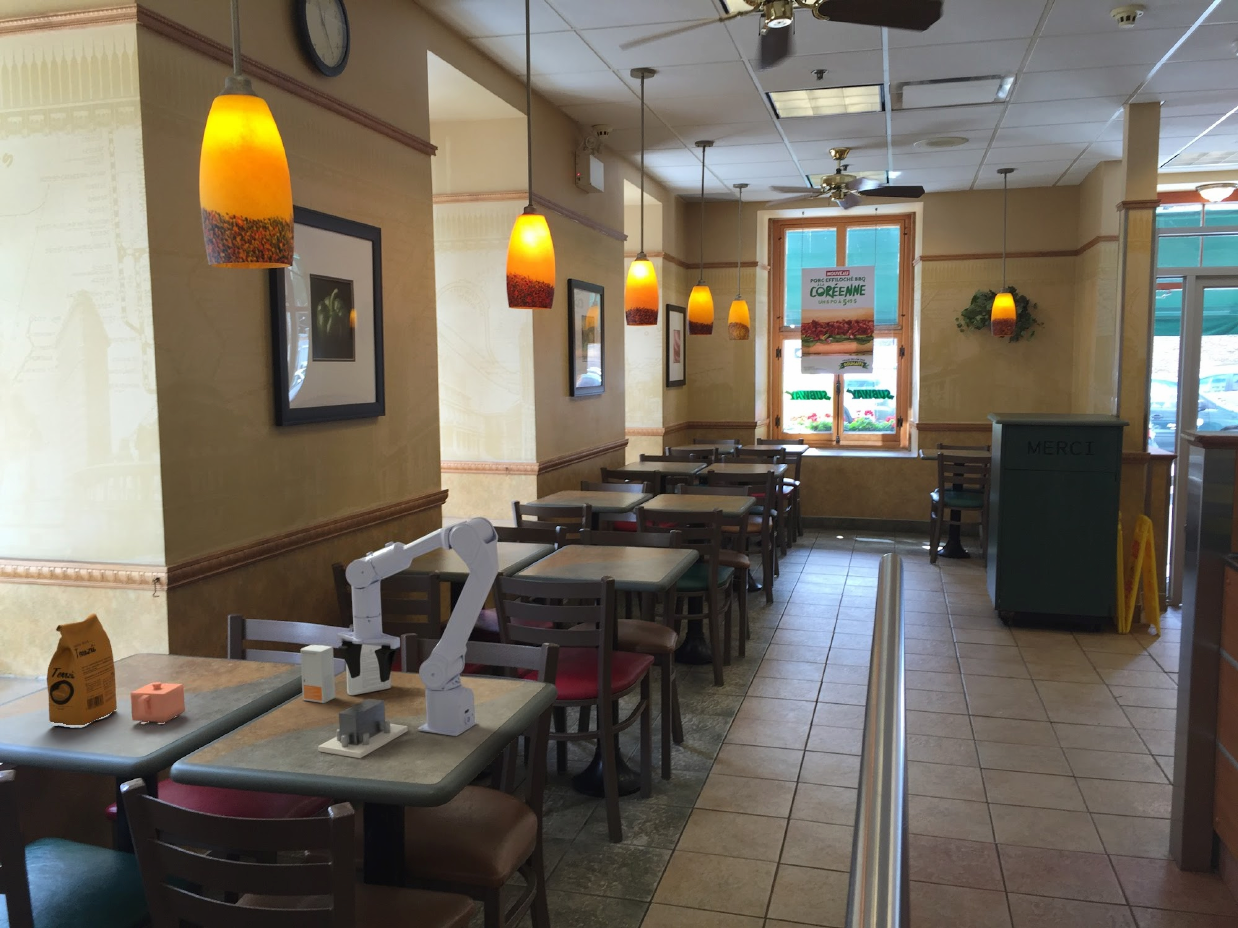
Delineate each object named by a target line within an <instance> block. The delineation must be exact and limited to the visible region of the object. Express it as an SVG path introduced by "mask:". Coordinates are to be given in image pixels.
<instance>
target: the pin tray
mask: <svg viewBox="0 0 1238 928" xmlns="http://www.w3.org/2000/svg"><path fill="white" fill-rule="evenodd" d="M335 731H336V736H335V737H333V738H331V739H329V740H327V741H326V742H324V743H321V744H320V745H318V746H317V747H318V748H317V749H318V750H317V751H318V752H321V753H328V754H333V755H338V756H346V757H350V758H357V759H362V758H364V756H365V757H366V755H368V754H370V753H371V752H374V751H375V750H377V749H379V748H380V747H382V746H384V745H386V744H388V743H389V742H391V741H393V740H395V739H396V738H399V737H400V736H401V735H403V734H404V733H407V732H408V726H407V725H402V724H397V723H396V724H395V723H391V722H390V721H385V722H384V731H382V732H380V733H379V734H377V735H375V736H373V737H371V738H370V739H369V733H364V734H363V742H362V743H361V744H359V745H357V746H356V745H350V744H348V735H343V736H341V741H342V743H340V728H337V729H336V730H335Z"/></svg>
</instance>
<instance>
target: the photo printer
mask: <svg viewBox="0 0 1238 928" xmlns="http://www.w3.org/2000/svg"><path fill="white" fill-rule="evenodd" d="M380 648H381V646H373V645H364V644H362V649H361V656H360V676H358V677H356V678H351V675H350V672H349V669H348V666H347V664H346V663H345V665H346V667H345V668H346V672H345V673H346V693H347V694H348V695H349V696H356V695H361V694H367V693H372V692H377V691H383V690H388V689H391V688H392V675H391V673H392V672H391V673H390V679H389V680H387V681H385V682H381V680H380V672H379V664H378V660H377V657H376V654H375V650H377V649H380Z"/></svg>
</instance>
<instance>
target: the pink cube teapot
mask: <svg viewBox="0 0 1238 928" xmlns="http://www.w3.org/2000/svg"><path fill="white" fill-rule="evenodd" d="M184 690H185V689H184V684H182V683H167V682H166V683H163V682H162V681H156V682H150V683H148V684H146V685H143V686H142V687H140V688H138V689H136V690H134V691H131V692H130V705H131V706H130V708H131V720H132V721H134V722H138V721H139V722H148V721H149V722H153V723H154V722H157V724H158V723H164V722H166V723H167V722H168V721H170V720H172V718H173V719H175V718H174V717H175V716H178V715H180V714H183V713H184V712H186V706H185V703H186V702H185V691H184Z"/></svg>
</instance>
